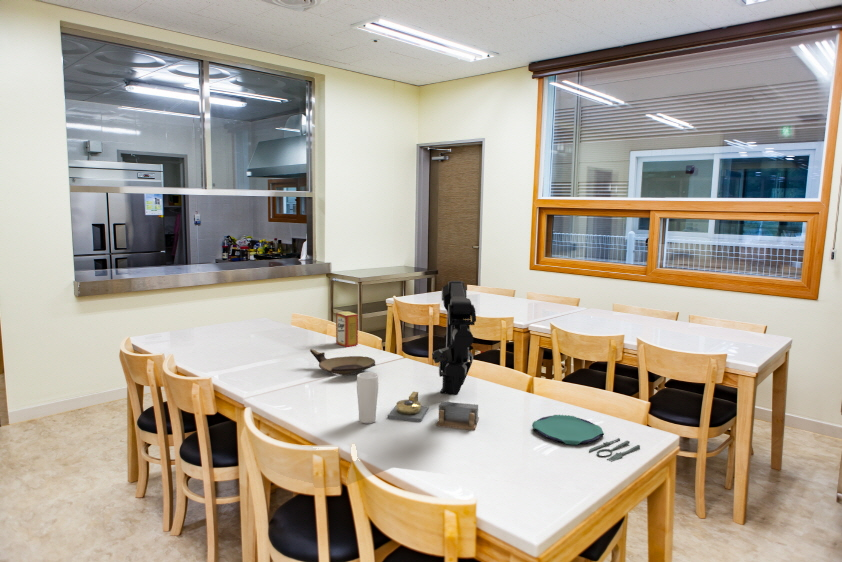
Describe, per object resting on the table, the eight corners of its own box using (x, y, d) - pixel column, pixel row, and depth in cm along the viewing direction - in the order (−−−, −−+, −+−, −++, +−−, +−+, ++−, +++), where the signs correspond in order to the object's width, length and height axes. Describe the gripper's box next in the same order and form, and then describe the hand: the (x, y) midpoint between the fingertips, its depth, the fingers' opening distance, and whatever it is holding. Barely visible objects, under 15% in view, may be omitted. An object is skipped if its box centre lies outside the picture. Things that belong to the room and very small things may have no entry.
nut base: (397, 406, 189) (397, 403, 189) (428, 409, 187) (428, 407, 187) (387, 418, 179) (387, 415, 178) (420, 421, 176) (421, 418, 176)
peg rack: (442, 415, 182) (442, 401, 181) (478, 419, 179) (479, 405, 178) (436, 425, 173) (437, 411, 172) (474, 430, 170) (475, 415, 170)
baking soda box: (357, 345, 273) (357, 313, 271) (346, 347, 269) (346, 315, 267) (347, 341, 280) (347, 310, 278) (336, 343, 276) (336, 312, 274)
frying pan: (341, 385, 211) (341, 366, 210) (301, 368, 233) (301, 350, 232) (387, 374, 226) (387, 356, 225) (345, 359, 248) (345, 342, 247)
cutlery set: (562, 416, 184) (562, 409, 183) (645, 449, 160) (646, 442, 159) (520, 430, 172) (520, 423, 171) (603, 468, 148) (604, 460, 148)
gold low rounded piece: (404, 399, 193) (404, 390, 192) (426, 401, 191) (427, 392, 190) (393, 413, 180) (393, 403, 179) (417, 415, 178) (417, 406, 177)
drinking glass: (358, 426, 172) (358, 379, 170) (355, 418, 178) (355, 372, 176) (380, 424, 174) (380, 377, 172) (375, 416, 180) (376, 371, 178)
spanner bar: (438, 420, 175) (438, 405, 175) (440, 416, 179) (441, 401, 178) (476, 424, 173) (476, 408, 172) (477, 419, 176) (478, 404, 176)
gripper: (440, 332, 183) (439, 378, 185) (428, 345, 165) (427, 396, 167) (473, 335, 181) (472, 381, 183) (465, 348, 163) (464, 399, 165)
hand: (458, 389), depth 175 cm, fingers open, 9 cm apart
